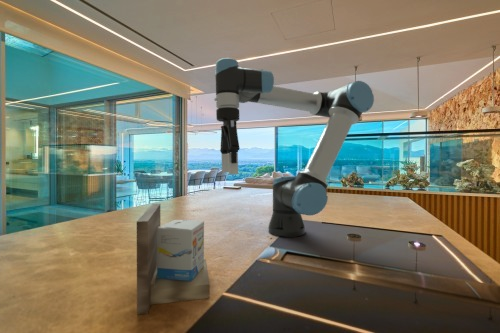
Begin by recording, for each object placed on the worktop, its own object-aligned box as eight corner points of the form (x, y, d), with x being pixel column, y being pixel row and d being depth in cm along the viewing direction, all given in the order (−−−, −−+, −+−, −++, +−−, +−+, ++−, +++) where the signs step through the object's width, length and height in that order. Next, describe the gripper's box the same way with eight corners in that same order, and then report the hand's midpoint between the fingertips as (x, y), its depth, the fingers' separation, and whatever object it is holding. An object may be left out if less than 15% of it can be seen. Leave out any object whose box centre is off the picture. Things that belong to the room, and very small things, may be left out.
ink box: (191, 282, 55) (191, 229, 55) (156, 278, 56) (156, 227, 56) (205, 265, 64) (205, 219, 63) (173, 263, 65) (173, 218, 65)
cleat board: (205, 265, 71) (205, 202, 70) (210, 305, 51) (210, 218, 51) (152, 270, 68) (152, 203, 67) (137, 314, 48) (136, 221, 48)
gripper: (211, 114, 93) (213, 171, 94) (222, 99, 69) (224, 175, 70) (231, 115, 95) (232, 171, 96) (248, 100, 71) (250, 174, 72)
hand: (229, 173), depth 83 cm, fingers open, 13 cm apart
